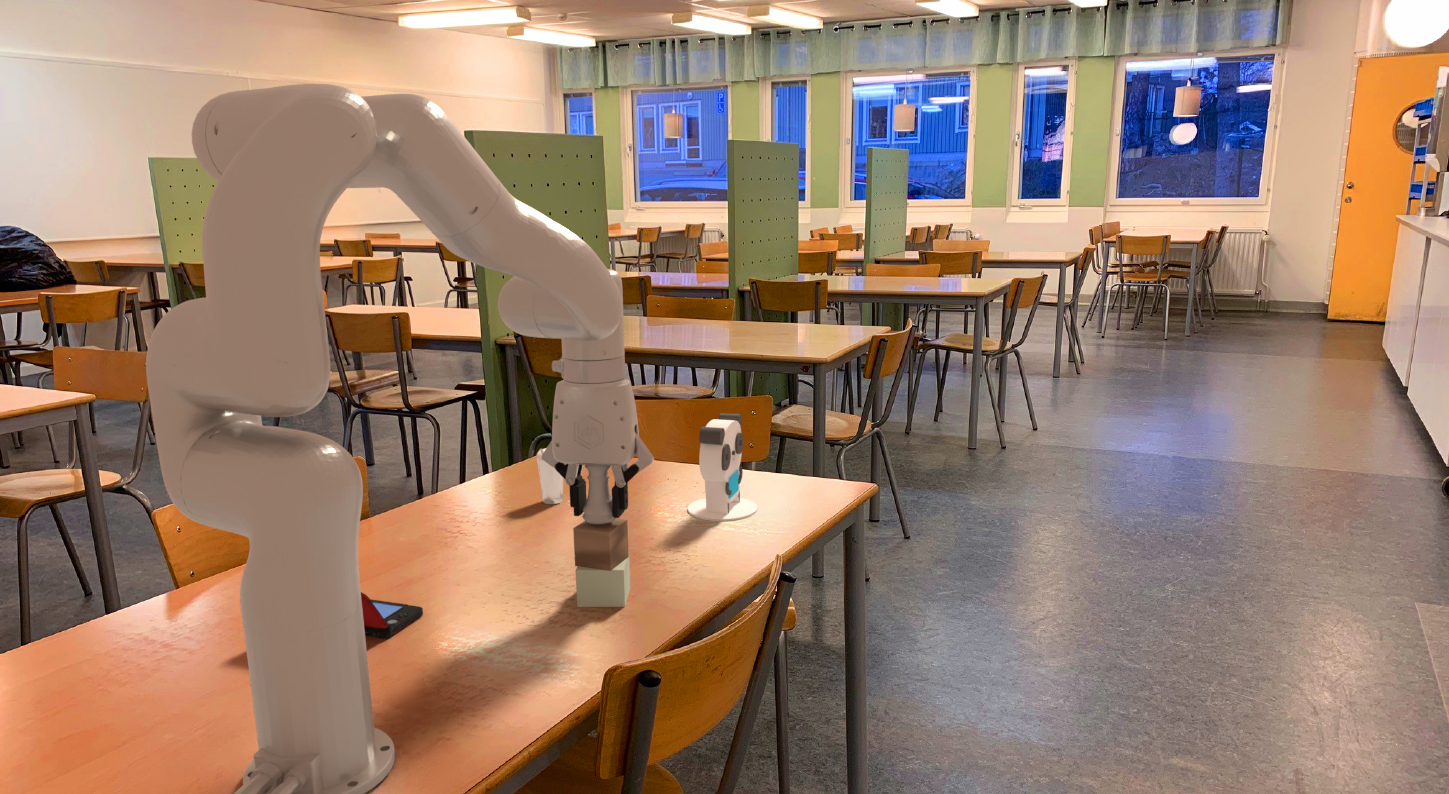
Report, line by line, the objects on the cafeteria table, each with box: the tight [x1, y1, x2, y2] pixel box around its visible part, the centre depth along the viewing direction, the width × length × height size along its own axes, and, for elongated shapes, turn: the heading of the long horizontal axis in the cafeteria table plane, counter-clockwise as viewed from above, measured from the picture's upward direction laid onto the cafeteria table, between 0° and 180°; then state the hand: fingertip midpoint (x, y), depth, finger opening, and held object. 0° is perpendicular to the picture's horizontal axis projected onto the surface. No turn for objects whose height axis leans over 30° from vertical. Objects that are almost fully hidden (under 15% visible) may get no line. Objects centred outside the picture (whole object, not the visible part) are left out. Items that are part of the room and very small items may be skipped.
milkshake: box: [536, 447, 564, 505], centre depth 162 cm, size 4×5×10 cm
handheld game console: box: [361, 592, 424, 640], centre depth 117 cm, size 12×11×7 cm
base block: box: [575, 556, 631, 608], centre depth 124 cm, size 6×6×5 cm
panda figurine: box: [687, 412, 759, 522], centre depth 156 cm, size 12×11×15 cm
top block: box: [572, 518, 630, 571], centre depth 123 cm, size 5×5×5 cm
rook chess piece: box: [581, 465, 617, 524], centre depth 121 cm, size 4×4×8 cm
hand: (599, 512), depth 122 cm, fingers closed on rook chess piece, 4 cm apart
